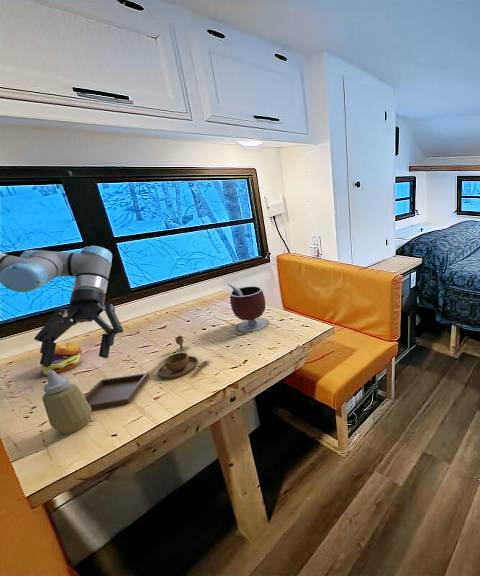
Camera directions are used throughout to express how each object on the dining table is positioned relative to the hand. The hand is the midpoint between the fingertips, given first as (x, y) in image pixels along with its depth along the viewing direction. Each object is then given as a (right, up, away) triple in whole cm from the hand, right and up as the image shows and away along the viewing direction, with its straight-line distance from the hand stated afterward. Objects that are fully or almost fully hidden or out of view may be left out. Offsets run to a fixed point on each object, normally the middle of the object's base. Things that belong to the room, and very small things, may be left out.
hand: (74, 361), depth 85 cm
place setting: (+14, -7, +26) cm, 31 cm away
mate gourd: (+26, +3, +53) cm, 60 cm away
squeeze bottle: (+2, -18, -2) cm, 18 cm away
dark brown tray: (+2, -13, +11) cm, 17 cm away
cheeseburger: (-30, -9, +26) cm, 40 cm away
